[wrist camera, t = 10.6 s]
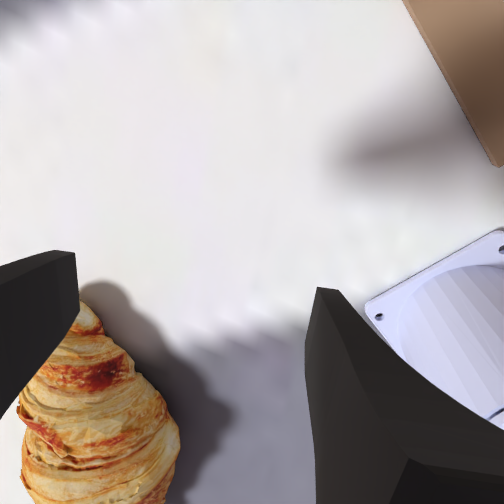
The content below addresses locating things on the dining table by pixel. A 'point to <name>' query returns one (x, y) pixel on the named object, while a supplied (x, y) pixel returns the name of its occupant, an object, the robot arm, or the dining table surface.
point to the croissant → (95, 425)
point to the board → (469, 60)
